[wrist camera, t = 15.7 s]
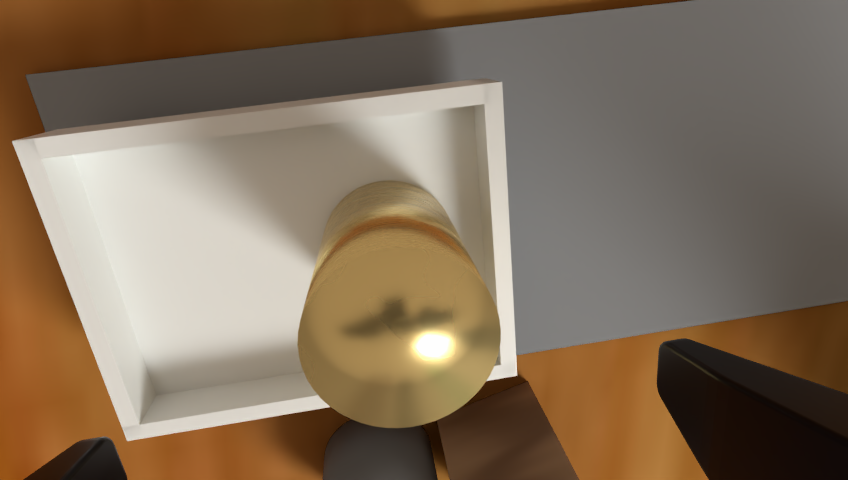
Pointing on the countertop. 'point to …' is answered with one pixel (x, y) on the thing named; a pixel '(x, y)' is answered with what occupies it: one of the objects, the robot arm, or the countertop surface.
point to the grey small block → (378, 454)
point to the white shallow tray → (249, 235)
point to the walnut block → (503, 440)
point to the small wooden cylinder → (396, 311)
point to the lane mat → (595, 148)
